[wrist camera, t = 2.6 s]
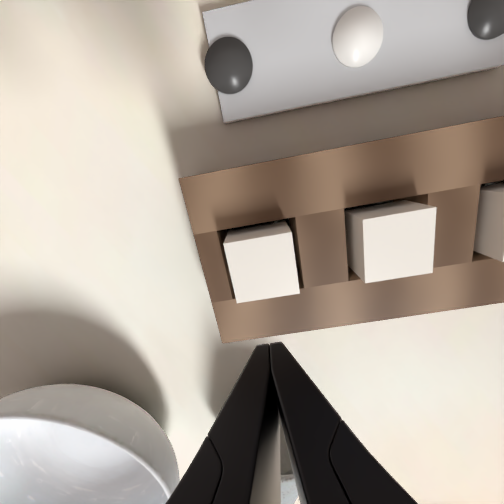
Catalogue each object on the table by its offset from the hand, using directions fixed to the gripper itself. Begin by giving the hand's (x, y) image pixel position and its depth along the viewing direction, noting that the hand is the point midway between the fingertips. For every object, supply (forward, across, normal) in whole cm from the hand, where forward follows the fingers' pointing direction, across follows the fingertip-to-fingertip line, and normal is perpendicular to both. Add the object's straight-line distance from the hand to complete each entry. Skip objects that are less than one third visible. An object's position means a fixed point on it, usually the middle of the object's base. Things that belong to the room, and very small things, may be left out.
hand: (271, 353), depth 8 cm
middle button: (+10, -8, 0) cm, 13 cm away
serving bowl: (+13, +21, +18) cm, 31 cm away
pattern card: (+13, -8, -12) cm, 19 cm away
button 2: (+10, 0, 0) cm, 10 cm away
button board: (+13, -8, 0) cm, 15 cm away
